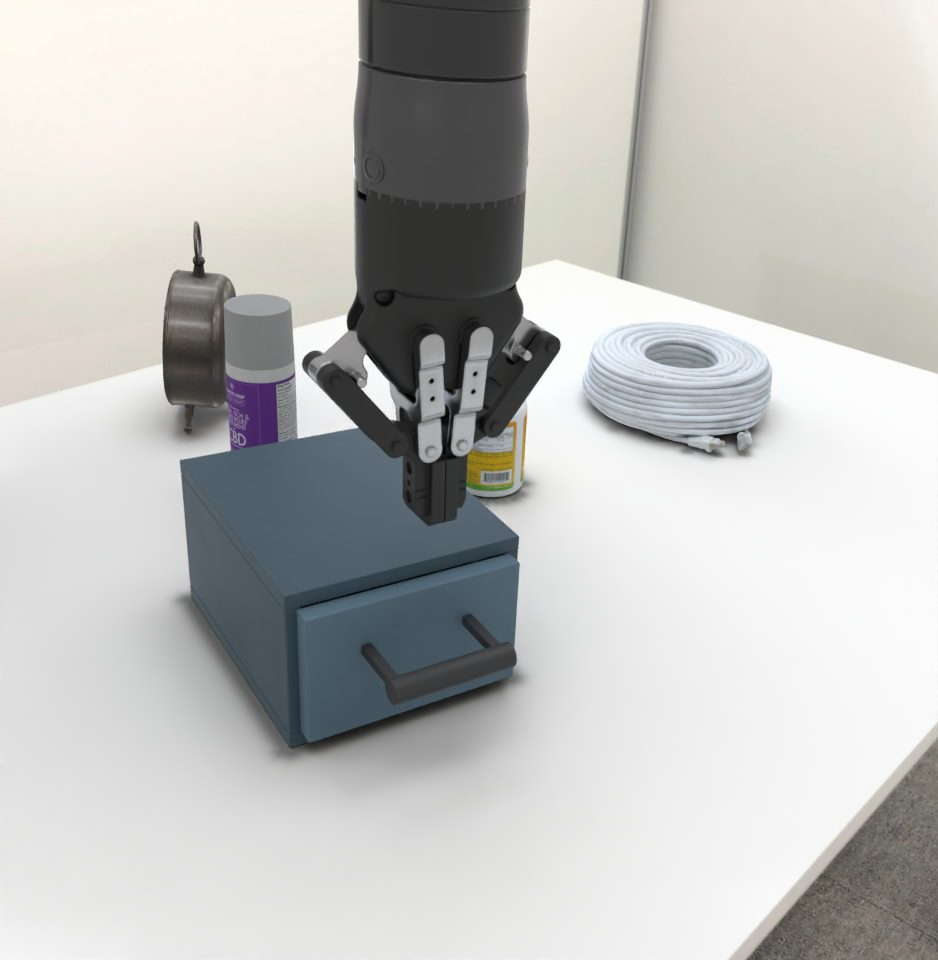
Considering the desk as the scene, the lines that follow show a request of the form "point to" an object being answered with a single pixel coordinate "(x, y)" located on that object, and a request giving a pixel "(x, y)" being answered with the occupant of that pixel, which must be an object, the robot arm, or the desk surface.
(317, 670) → the drawer
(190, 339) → the alarm clock
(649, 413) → the cable
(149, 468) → the desk surface
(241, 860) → the desk surface
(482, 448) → the supplement bottle
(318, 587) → the cabinet
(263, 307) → the container
